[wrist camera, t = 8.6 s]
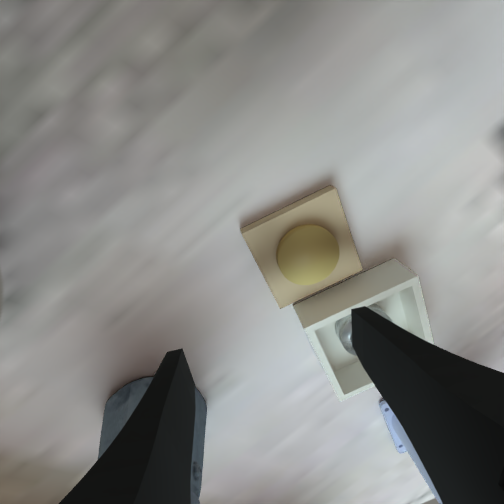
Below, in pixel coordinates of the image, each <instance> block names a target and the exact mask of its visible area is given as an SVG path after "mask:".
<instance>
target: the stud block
mask: <svg viewBox="0 0 504 504" xmlns="http://www.w3.org/2000/svg"><path fill="white" fill-rule="evenodd" d="M240 230H241V233H242V235H243V237H244V239H245V241H246V243H247V245H248V247H249V249H250V251H251V253H252V255H253V257H254V259H255V261H256V263H257V265H258V267H259V269H260V271H261V272H262V274H263V276H264V278H265V280H266V282H267V284H268V286H269V288H270V290H271V292H272V294H273V296H274V298H275V300H276V302H277V304H278V306H279V307H280V309H281V308H283V307H285V306H287V305H290V304H292V303H294V302H296V301H298V300H300V299H302V298H304V297H307V296H309V295H311V294H313V293H315V292H317V291H319V290H321V289H324V288H326V287H328V286H330V285H332V284H334V283H336V282H338V281H341V280H343V279H345V278H347V277H349V276H351V275H353V274H356V273H358V272H360V271H362V270H363V269H362V266H361V263H360V260H359V257H358V254H357V251H356V248H355V245H354V242H353V239H352V236H351V233H350V230H349V227H348V223H347V220H346V217H345V214H344V211H343V208H342V205H341V202H340V199H339V196H338V193H337V190H336V188H335V187H333V186H331V185H329V186H327V187H325V188H323V189H321V190H319V191H317V192H315V193H313V194H311V195H309V196H307V197H305V198H303V199H301V200H299V201H297V202H295V203H293V204H291V205H288V206H286V207H284V208H282V209H280V210H278V211H276V212H274V213H272V214H270V215H268V216H266V217H264V218H262V219H260V220H258V221H256V222H254V223H252V224H250V225H248V226H245V227H243V228H241V229H240Z"/></svg>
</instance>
